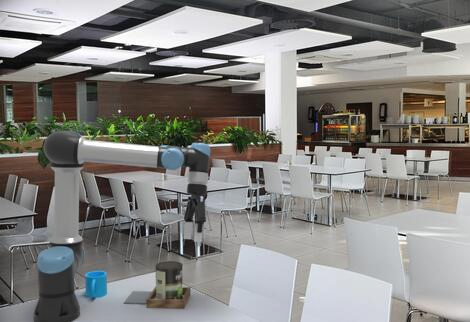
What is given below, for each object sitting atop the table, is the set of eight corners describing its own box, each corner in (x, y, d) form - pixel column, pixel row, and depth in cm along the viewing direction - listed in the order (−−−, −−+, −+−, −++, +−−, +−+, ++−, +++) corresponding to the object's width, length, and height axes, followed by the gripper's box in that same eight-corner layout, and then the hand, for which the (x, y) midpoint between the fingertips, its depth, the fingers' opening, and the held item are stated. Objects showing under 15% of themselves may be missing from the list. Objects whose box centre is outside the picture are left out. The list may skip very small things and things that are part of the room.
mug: (87, 291, 185) (87, 271, 184) (108, 290, 186) (108, 270, 185) (81, 302, 173) (81, 281, 172) (103, 301, 174) (103, 280, 173)
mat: (123, 303, 172) (123, 302, 172) (133, 292, 184) (132, 290, 183) (147, 304, 171) (147, 303, 171) (155, 292, 183) (155, 291, 183)
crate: (146, 307, 168) (146, 299, 168) (155, 293, 182) (155, 286, 182) (184, 308, 167) (184, 300, 167) (190, 294, 181) (190, 287, 181)
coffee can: (186, 297, 178) (186, 261, 177) (177, 307, 168) (177, 269, 167) (161, 295, 180) (161, 260, 179) (151, 305, 170) (151, 268, 169)
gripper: (218, 183, 164) (212, 243, 161) (197, 186, 187) (192, 238, 184) (198, 181, 161) (192, 242, 158) (179, 184, 184) (174, 237, 181)
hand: (192, 240), depth 171 cm, fingers open, 13 cm apart
